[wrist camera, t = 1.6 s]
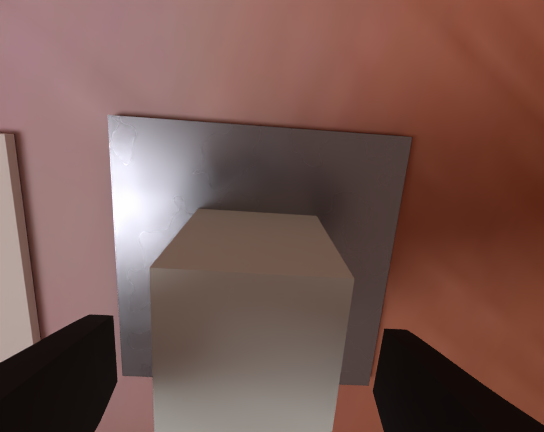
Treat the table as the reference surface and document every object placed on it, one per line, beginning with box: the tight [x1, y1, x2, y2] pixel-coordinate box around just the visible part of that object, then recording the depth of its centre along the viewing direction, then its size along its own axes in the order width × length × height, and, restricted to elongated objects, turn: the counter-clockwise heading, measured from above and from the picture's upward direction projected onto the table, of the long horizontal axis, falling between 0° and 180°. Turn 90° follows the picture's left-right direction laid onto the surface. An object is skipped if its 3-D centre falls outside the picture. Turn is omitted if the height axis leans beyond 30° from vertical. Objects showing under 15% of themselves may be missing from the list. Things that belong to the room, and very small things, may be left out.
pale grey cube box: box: [149, 209, 354, 432], centre depth 12 cm, size 5×5×6 cm
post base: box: [108, 115, 412, 386], centre depth 13 cm, size 12×12×4 cm
